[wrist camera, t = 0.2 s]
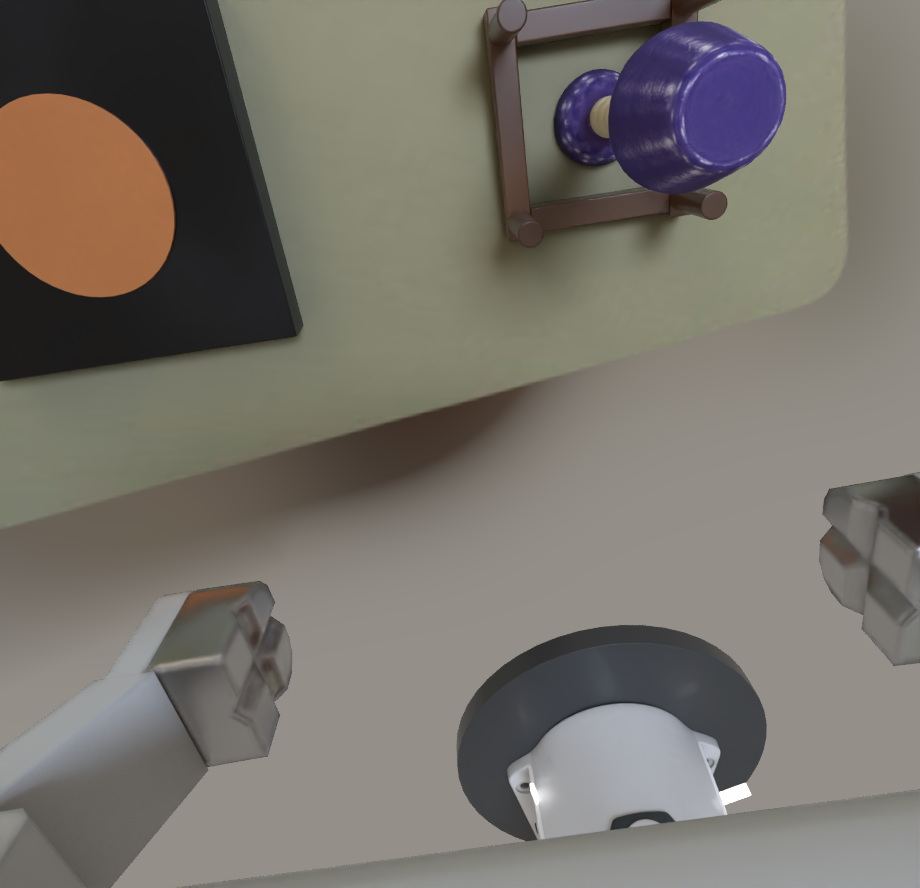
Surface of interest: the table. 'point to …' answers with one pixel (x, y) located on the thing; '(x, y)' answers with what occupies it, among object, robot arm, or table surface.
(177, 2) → the stove
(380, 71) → the table surface
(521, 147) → the rack
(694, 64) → the toy lamp
